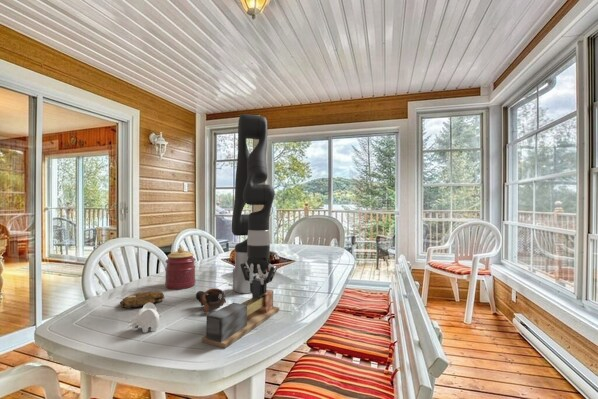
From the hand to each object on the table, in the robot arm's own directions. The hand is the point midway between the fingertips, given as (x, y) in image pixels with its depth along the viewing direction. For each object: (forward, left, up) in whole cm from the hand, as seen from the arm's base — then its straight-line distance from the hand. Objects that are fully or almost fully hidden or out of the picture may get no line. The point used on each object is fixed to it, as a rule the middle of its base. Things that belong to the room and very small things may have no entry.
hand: (258, 293), depth 101 cm
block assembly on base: (0, -7, -8) cm, 10 cm away
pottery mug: (-20, -1, -8) cm, 21 cm away
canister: (-52, +16, -8) cm, 55 cm away
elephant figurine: (-25, -23, -8) cm, 35 cm away
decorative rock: (-47, -7, -8) cm, 48 cm away
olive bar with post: (0, -4, -4) cm, 6 cm away
